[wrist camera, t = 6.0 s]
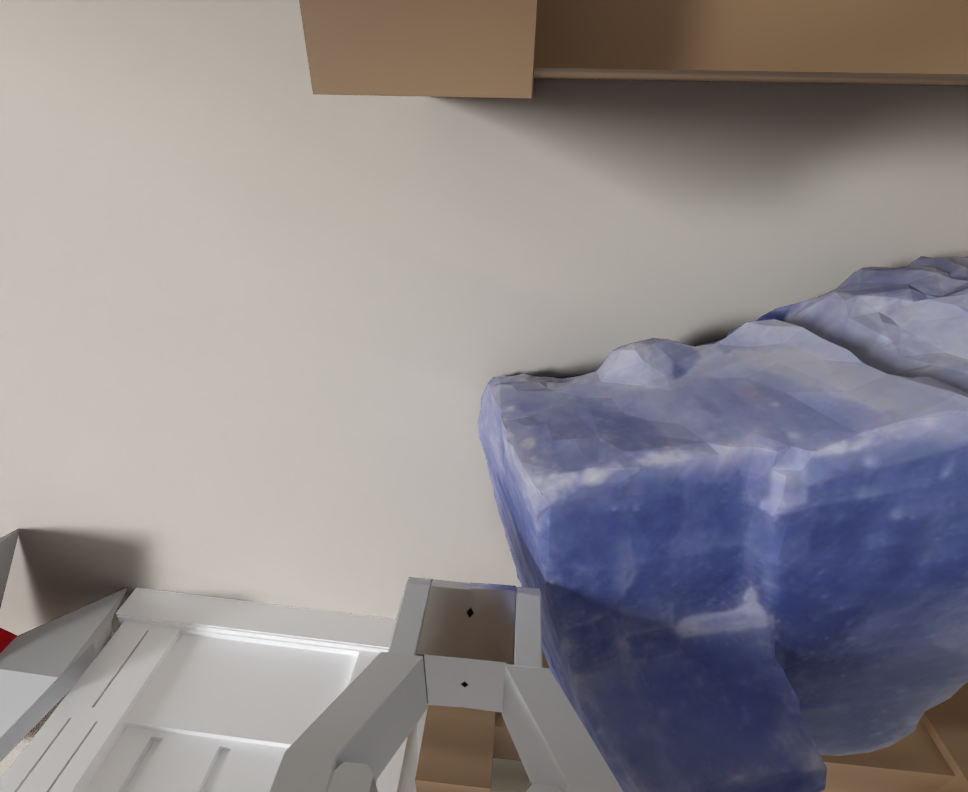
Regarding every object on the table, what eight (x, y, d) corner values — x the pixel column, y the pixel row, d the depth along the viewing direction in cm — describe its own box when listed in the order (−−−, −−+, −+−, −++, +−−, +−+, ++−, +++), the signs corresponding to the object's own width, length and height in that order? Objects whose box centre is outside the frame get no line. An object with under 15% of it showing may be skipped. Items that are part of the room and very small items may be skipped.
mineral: (594, 907, 11) (355, 751, 6) (538, 569, 19) (413, 381, 14) (1366, 770, 8) (2067, 274, 3) (924, 439, 16) (938, 145, 11)
